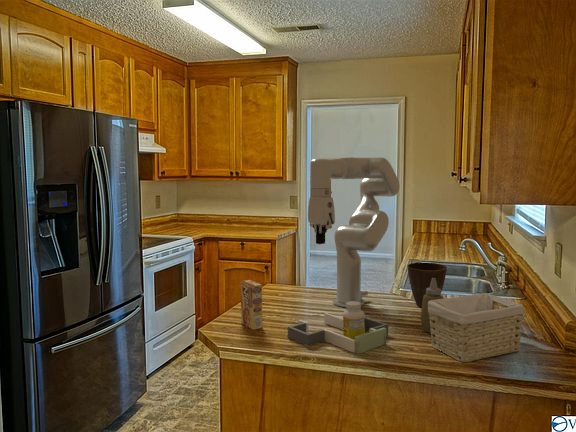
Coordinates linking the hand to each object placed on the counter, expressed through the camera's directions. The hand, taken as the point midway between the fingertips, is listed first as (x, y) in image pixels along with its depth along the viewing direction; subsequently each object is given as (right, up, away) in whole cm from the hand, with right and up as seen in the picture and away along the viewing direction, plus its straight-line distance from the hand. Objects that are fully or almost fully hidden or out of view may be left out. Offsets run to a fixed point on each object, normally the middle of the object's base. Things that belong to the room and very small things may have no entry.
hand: (320, 243), depth 178 cm
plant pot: (+43, -26, +15) cm, 52 cm away
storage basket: (+44, -31, -31) cm, 62 cm away
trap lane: (+5, -29, -19) cm, 35 cm away
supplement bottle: (+9, -30, -25) cm, 40 cm away
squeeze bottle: (+37, -29, -14) cm, 49 cm away
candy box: (-25, -28, -8) cm, 38 cm away
